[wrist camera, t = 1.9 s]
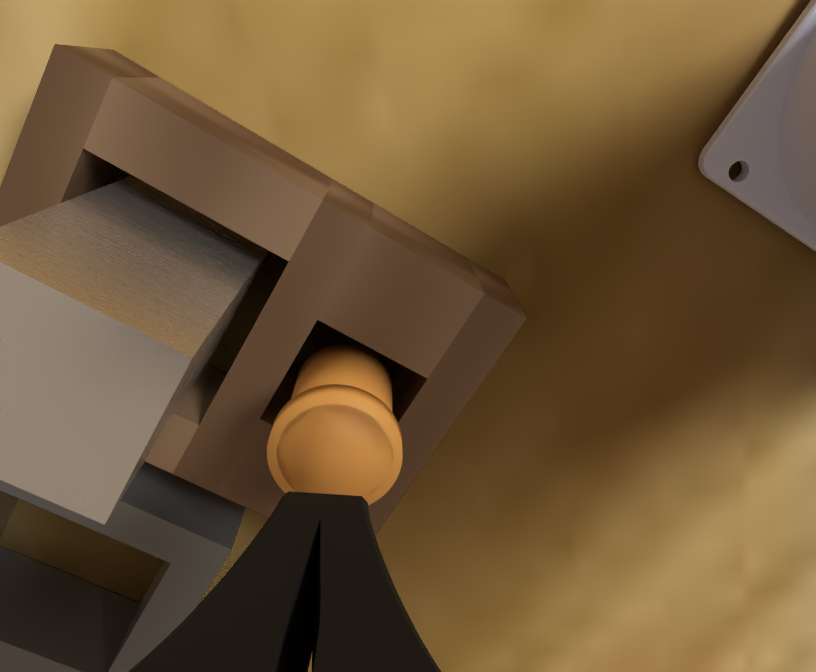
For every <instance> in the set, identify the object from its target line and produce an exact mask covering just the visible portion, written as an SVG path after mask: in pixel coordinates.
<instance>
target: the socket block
mask: <svg viewBox="0 0 816 672" xmlns="http://www.w3.org/2000/svg"><path fill="white" fill-rule="evenodd" d="M120 169H122V170H124V171H126V172H127V173H129V174H131V175H133V176H135V177H136V178H138V179H140V180H142V181H144V182H145V183H147V184H149V185H151V186H153V187H155V188H156V189H158V190H160V191H162V192H164V193H165V194H167V195H169V196H171V197H173V198H174V199H176V200H178V201H180V202H182V203H184V204H185V205H187V206H189V207H191V208H193V209H194V210H196V211H198V212H200V213H202V214H204V215H205V216H207V217H209V218H211V219H213V220H214V221H216V222H218V223H220V224H222V225H223V226H225V227H227V228H229V229H231V230H233V231H234V232H236V233H238V234H240V235H242V236H243V237H245V238H247V239H249V240H251V241H253V242H254V243H256V244H258V245H260V246H262V247H263V248H265V249H267V250H269V251H271V252H272V253H274V254H276V255H278V256H280V257H282V258H283V259H285V260H287V261H289V262H288V264H287V265H286V267H285V269H284V271H283V273H282V275H281V276H280V278H279V280H278V282H277V284H276V285H275V287H274V289H273V291H272V293H271V295H270V296H269V298H268V300H267V302H266V304H265V305H264V307H263V309H262V311H261V313H260V315H259V316H258V318H257V320H256V322H255V324H254V326H253V327H252V329H251V331H250V333H249V335H248V336H247V338H246V340H245V342H244V344H243V346H242V347H241V349H240V351H239V353H238V355H237V357H236V358H235V360H234V362H233V364H232V366H231V367H230V369H229V371H228V373H227V374H225V373H223V372H221V371H219V370H217V369H215V368H213V367H211V366H209V365H207V364H206V365H205V367H204V368H203V370H202V372H201V373H200V375H199V376H198V378H197V380H196V381H195V383H194V384H193V386H192V387H191V389H190V391H189V392H188V394H187V395H186V397H185V399H184V400H183V402H182V403H181V405H180V406H179V408H178V410H177V411H176V413H175V414H174V416H173V418H172V419H171V421H170V422H169V424H168V425H167V427H166V429H165V430H164V432H163V433H162V435H161V437H160V438H159V440H158V441H157V443H156V444H155V446H154V448H153V449H152V451H151V452H150V454H149V456H148V457H147V459H146V460H145V461H146V462H148V463H150V464H152V465H154V466H156V467H159V468H161V469H163V470H165V471H167V472H170V473H172V474H174V475H176V476H178V477H180V478H183V479H185V480H187V481H189V482H191V483H194V484H196V485H198V486H200V487H202V488H204V489H207V490H209V491H211V492H213V493H215V494H218V495H220V496H222V497H224V498H226V499H229V500H231V501H233V502H235V503H237V504H239V505H242V506H244V507H246V508H248V509H250V510H253V511H255V512H257V513H259V514H261V515H263V516H266V517H268V518H269V517H270V516H271V514H272V512H273V511H274V509H275V508H276V506H277V504H278V503H279V501H280V499H281V497H282V496H283V495H285V494H286V493H285V492H284V491H283V490H282V489H281V488H280V487H279V486H278V484H277V483H276V481H275V480H274V478H273V476H272V474H271V472H270V469H269V465H268V461H267V444H268V439H269V436H270V433H271V430H272V427H273V424H274V421H275V419H276V417H277V415H278V413H279V412H280V410H281V409H282V408H283V407H284V405H285V404H286V403H287V402H288V401H290V400H291V397H292V394H293V391H294V387H295V384H296V381H297V378H295V377H293V376H291V375H289V374H287V371H288V369H289V368H290V366H291V364H292V363H293V361H294V359H295V357H296V356H297V354H298V352H299V350H300V349H301V347H302V345H303V344H304V342H305V340H306V338H307V337H308V335H309V333H310V332H311V330H312V328H313V326H314V325H315V323H316V321H317V320H319V321H321V322H323V323H325V324H326V325H328V326H330V327H332V328H334V329H336V330H338V331H339V332H341V333H343V334H345V335H347V336H349V337H351V338H353V339H354V340H356V341H358V342H360V343H362V344H364V345H366V346H367V347H369V348H371V349H373V350H375V351H377V352H379V353H381V354H382V355H384V356H386V357H388V358H390V359H392V360H394V361H395V362H397V363H399V364H401V367H400V368H399V370H398V372H397V373H396V375H395V376H394V378H393V379H392V413H393V414H394V416H395V418H396V420H397V421H398V424H399V427H400V430H401V435H402V451H403V458H402V465H401V469H400V472H399V475H398V477H397V479H396V481H395V483H394V484H393V486H392V487H391V488H390V489H389V491H388V492H387V493H386V494H385V495H383V496H382V497H381V498H380V499H378V500H377V501H375V502H374V503H372V504H370V505H368V510H369V515H370V520H371V524H372V528H373V531H374V535H375V536H376V534H377V533H378V531H379V530H380V528H381V527H382V526H383V524H384V523H385V521H386V520H387V518H388V517H389V516H390V514H391V513H392V511H393V510H394V508H395V507H396V506H397V504H398V503H399V501H400V500H401V498H402V497H403V496H404V494H405V493H406V491H407V490H408V488H409V487H410V485H411V484H412V483H413V481H414V480H415V478H416V477H417V475H418V474H419V473H420V471H421V470H422V468H423V467H424V465H425V464H426V463H427V461H428V460H429V458H430V457H431V455H432V454H433V453H434V451H435V450H436V448H437V447H438V445H439V444H440V443H441V441H442V440H443V438H444V437H445V435H446V434H447V432H448V431H449V430H450V428H451V427H452V425H453V424H454V422H455V421H456V420H457V418H458V417H459V415H460V414H461V412H462V411H463V410H464V408H465V407H466V405H467V404H468V402H469V401H470V400H471V398H472V397H473V395H474V394H475V392H476V391H477V390H478V388H479V387H480V385H481V384H482V382H483V381H484V379H485V378H486V377H487V375H488V374H489V372H490V371H491V369H492V368H493V367H494V365H495V364H496V362H497V361H498V359H499V358H500V357H501V355H502V354H503V352H504V351H505V349H506V348H507V347H508V345H509V344H510V342H511V341H512V339H513V338H514V337H515V335H516V334H517V332H518V331H519V329H520V328H521V326H522V325H523V324H524V322H525V321H526V319H527V317H526V315H525V313H524V312H523V310H522V308H521V306H520V305H519V303H518V301H517V300H516V298H515V296H514V294H513V293H512V291H511V289H510V287H509V286H508V284H507V282H506V281H505V280H503V279H501V278H499V277H498V276H496V275H494V274H493V273H491V272H489V271H488V270H486V269H484V268H482V267H481V266H479V265H477V264H476V263H474V262H472V261H471V260H469V259H467V258H465V257H464V256H462V255H460V254H459V253H457V252H455V251H454V250H452V249H450V248H449V247H447V246H445V245H443V244H442V243H440V242H438V241H437V240H435V239H433V238H432V237H430V236H428V235H426V234H425V233H423V232H421V231H420V230H418V229H416V228H415V227H413V226H411V225H409V224H408V223H406V222H404V221H403V220H401V219H399V218H398V217H396V216H394V215H393V214H391V213H389V212H387V211H386V210H384V209H382V208H381V207H379V206H377V205H376V204H374V203H372V202H370V201H369V200H367V199H365V198H364V197H362V196H360V195H359V194H357V193H355V192H353V191H352V190H350V189H348V188H347V187H345V186H343V185H342V184H340V183H338V182H336V181H335V180H333V179H331V178H330V177H328V176H326V175H325V174H323V173H321V172H320V171H318V170H316V169H314V168H313V167H311V166H309V165H308V164H306V163H304V162H303V161H301V160H299V159H297V158H296V157H294V156H292V155H291V154H289V153H287V152H286V151H284V150H282V149H280V148H279V147H277V146H275V145H274V144H272V143H270V142H269V141H267V140H265V139H264V138H262V137H260V136H258V135H257V134H255V133H253V132H252V131H250V130H248V129H247V128H245V127H243V126H241V125H240V124H238V123H236V122H235V121H233V120H231V119H230V118H228V117H226V116H224V115H223V114H221V113H219V112H218V111H216V110H214V109H213V108H211V107H209V106H208V105H206V104H204V103H202V102H201V101H199V100H197V99H196V98H194V97H192V96H191V95H189V94H187V93H185V92H184V91H182V90H180V89H179V88H177V87H175V86H174V85H172V84H170V83H168V82H167V81H165V80H163V79H162V78H160V77H158V76H157V75H155V74H153V73H152V72H150V71H148V70H146V69H145V68H143V67H141V66H140V65H138V64H136V63H135V62H133V61H131V60H129V59H128V58H126V57H124V56H123V55H121V54H119V53H118V52H116V51H114V50H109V49H99V48H89V47H78V46H68V45H58V44H55V45H54V47H53V50H52V53H51V55H50V58H49V61H48V63H47V66H46V68H45V71H44V74H43V76H42V79H41V82H40V84H39V87H38V90H37V92H36V95H35V97H34V100H33V103H32V105H31V108H30V111H29V113H28V116H27V119H26V121H25V124H24V126H23V129H22V132H21V134H20V137H19V140H18V142H17V145H16V148H15V150H14V153H13V155H12V158H11V161H10V163H9V166H8V169H7V171H6V174H5V177H4V179H3V182H2V184H1V187H0V227H1V226H3V225H6V224H8V223H11V222H14V221H16V220H19V219H21V218H24V217H26V216H29V215H32V214H34V213H37V212H39V211H42V210H45V209H47V208H50V207H52V206H55V205H57V204H60V203H63V202H65V201H68V200H70V199H73V198H76V197H78V196H81V195H83V194H86V193H88V192H91V191H94V190H96V189H99V188H101V187H104V186H107V185H109V184H112V183H114V182H115V179H116V177H117V175H118V172H119V170H120Z"/></svg>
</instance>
